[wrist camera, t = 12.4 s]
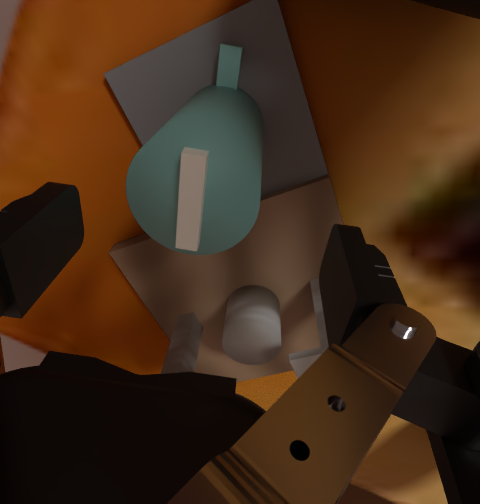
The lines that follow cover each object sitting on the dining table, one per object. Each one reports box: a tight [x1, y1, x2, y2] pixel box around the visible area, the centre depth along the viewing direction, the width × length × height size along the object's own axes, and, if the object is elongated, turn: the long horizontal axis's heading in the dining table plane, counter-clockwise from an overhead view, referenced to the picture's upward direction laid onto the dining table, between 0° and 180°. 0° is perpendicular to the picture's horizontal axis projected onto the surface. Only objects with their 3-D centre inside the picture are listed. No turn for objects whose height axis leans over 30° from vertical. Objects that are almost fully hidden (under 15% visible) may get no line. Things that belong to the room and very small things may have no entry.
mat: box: [104, 0, 328, 197], centre depth 22 cm, size 10×10×1 cm
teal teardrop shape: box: [126, 43, 264, 255], centre depth 17 cm, size 9×5×11 cm, turn 172°
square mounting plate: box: [109, 174, 343, 382], centre depth 26 cm, size 16×16×8 cm
